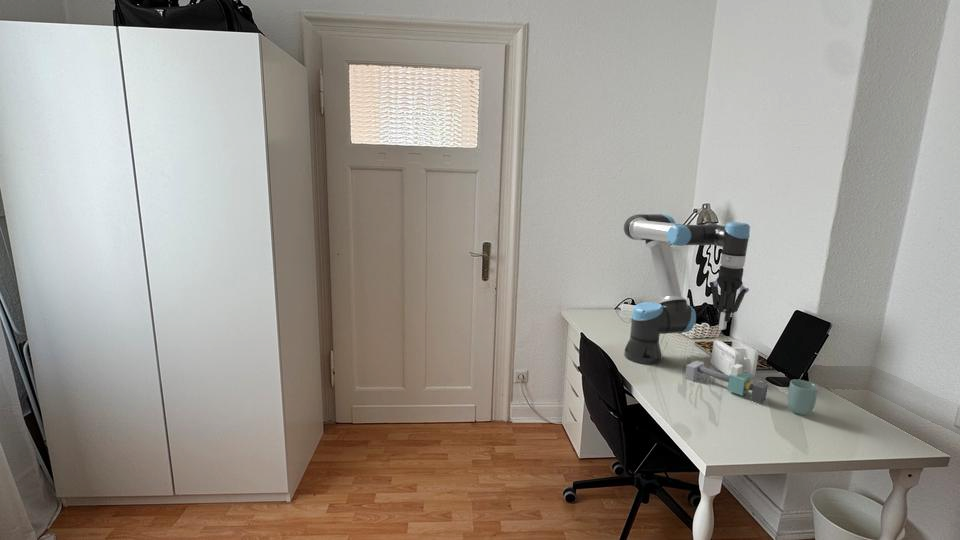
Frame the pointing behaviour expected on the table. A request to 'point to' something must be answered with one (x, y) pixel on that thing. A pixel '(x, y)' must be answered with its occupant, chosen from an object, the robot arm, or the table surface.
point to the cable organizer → (734, 357)
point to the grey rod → (721, 376)
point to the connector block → (759, 392)
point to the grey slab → (693, 370)
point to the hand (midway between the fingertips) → (722, 328)
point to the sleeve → (738, 380)
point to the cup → (802, 396)
